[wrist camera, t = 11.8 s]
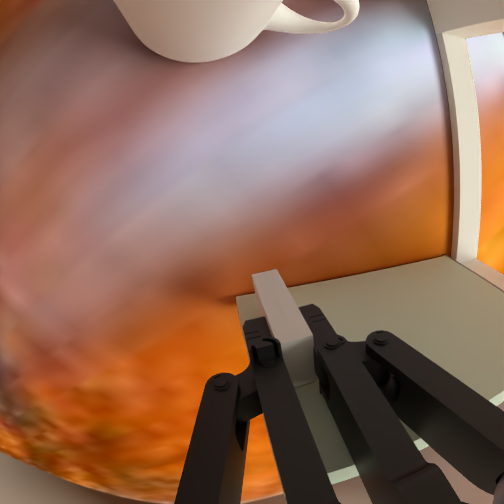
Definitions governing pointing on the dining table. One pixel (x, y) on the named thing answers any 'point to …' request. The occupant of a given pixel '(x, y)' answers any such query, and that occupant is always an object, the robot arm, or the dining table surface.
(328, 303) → the door
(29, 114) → the dining table surface
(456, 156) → the wall frame
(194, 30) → the mug
